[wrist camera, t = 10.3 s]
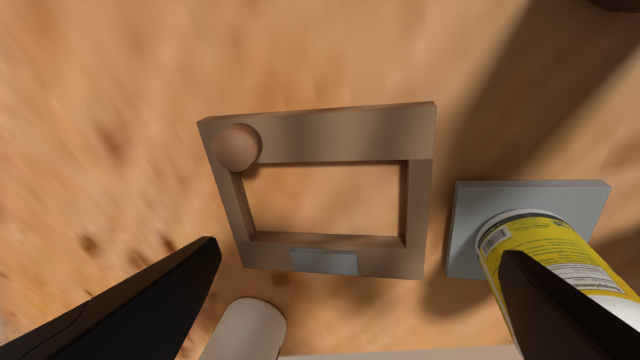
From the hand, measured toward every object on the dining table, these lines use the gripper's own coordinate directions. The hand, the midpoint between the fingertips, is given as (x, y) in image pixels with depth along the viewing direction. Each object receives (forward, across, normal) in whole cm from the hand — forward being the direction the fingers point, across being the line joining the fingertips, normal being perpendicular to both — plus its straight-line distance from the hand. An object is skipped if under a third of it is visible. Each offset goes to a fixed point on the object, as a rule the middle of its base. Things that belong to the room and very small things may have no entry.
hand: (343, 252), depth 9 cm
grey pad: (+13, -11, +9) cm, 19 cm away
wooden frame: (+13, +4, +6) cm, 15 cm away
